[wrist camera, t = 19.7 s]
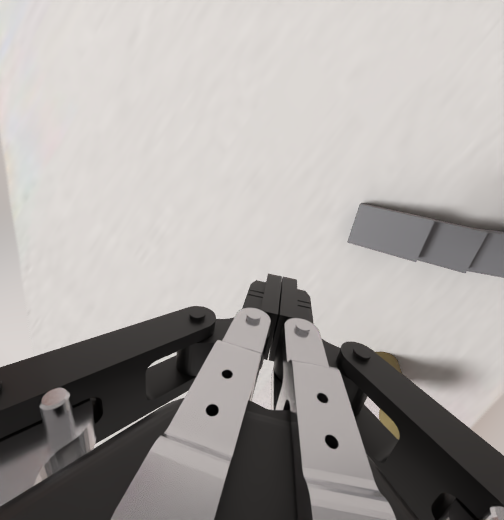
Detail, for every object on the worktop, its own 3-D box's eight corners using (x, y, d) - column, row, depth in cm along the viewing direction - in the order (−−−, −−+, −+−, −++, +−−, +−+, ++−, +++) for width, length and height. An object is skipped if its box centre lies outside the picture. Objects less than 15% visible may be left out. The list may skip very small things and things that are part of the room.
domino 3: (444, 262, 33) (525, 276, 30) (447, 267, 32) (533, 282, 28) (457, 225, 31) (544, 236, 28) (461, 229, 30) (554, 240, 26)
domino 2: (391, 249, 34) (460, 268, 31) (391, 252, 32) (465, 273, 29) (406, 213, 32) (481, 229, 29) (407, 214, 30) (487, 232, 27)
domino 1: (349, 239, 34) (414, 257, 31) (347, 242, 32) (415, 262, 29) (361, 203, 32) (432, 218, 29) (359, 204, 30) (434, 220, 27)
